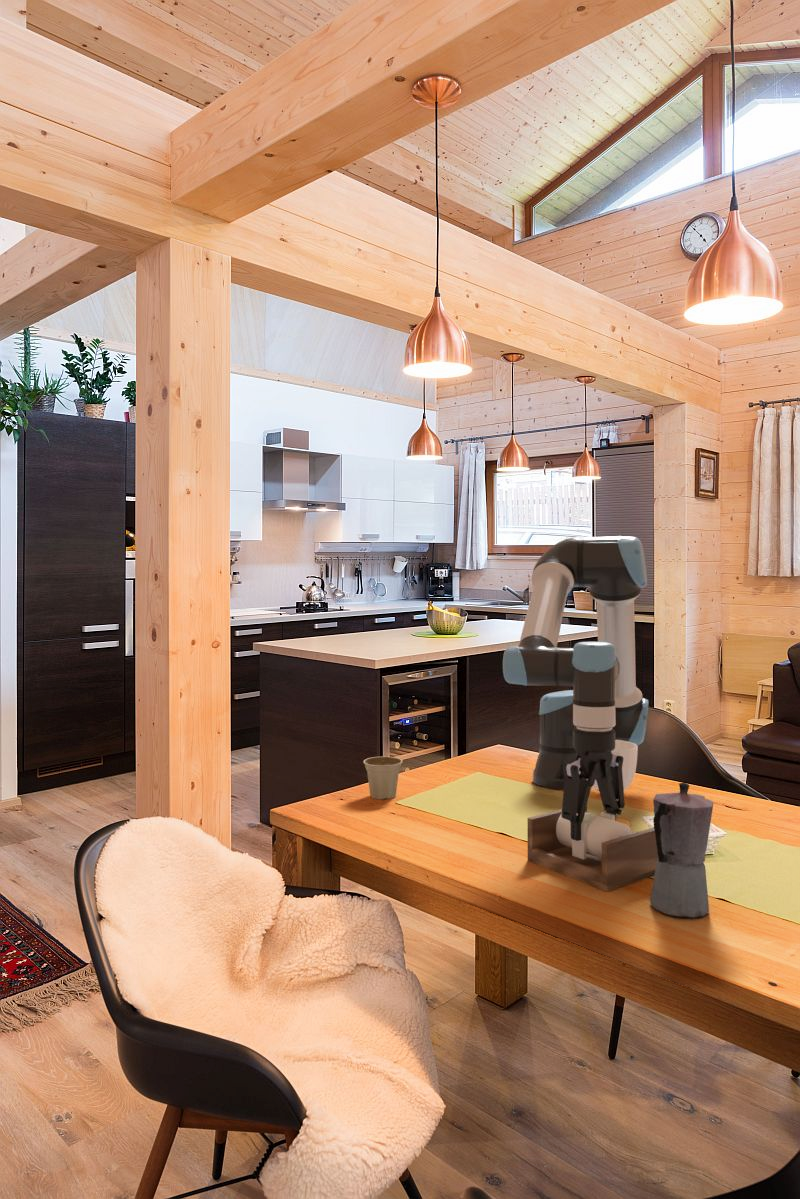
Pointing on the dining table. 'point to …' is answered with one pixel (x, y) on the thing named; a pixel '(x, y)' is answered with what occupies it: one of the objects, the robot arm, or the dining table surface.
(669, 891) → the moka pot
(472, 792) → the dining table surface
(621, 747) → the cup
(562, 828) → the roll
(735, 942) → the dining table surface
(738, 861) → the dining table surface
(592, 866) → the holder
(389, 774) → the flower pot
